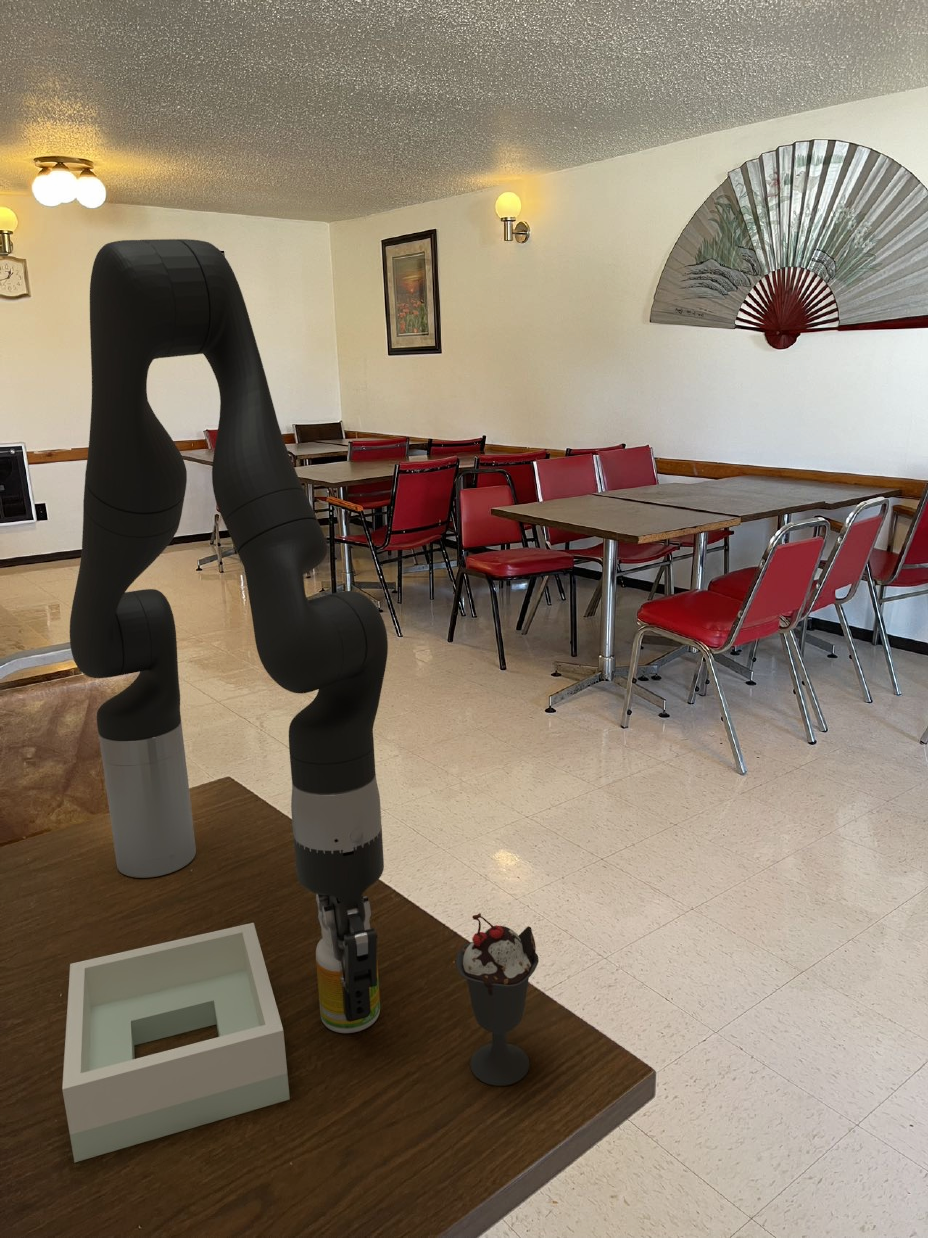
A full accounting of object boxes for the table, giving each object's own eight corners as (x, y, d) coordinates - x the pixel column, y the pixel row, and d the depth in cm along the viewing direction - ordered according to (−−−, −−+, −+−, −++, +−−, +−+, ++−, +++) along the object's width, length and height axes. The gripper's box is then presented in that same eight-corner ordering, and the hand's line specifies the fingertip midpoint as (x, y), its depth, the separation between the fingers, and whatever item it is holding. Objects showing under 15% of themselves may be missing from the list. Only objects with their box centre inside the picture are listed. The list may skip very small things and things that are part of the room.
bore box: (80, 1026, 82) (70, 963, 81) (259, 982, 88) (253, 922, 86) (74, 1162, 68) (62, 1089, 66) (289, 1099, 73) (283, 1030, 71)
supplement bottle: (370, 1038, 80) (363, 940, 77) (312, 1031, 81) (303, 935, 78) (387, 998, 85) (382, 906, 82) (332, 993, 86) (325, 901, 83)
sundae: (448, 1084, 74) (441, 921, 70) (475, 1030, 80) (471, 877, 77) (526, 1104, 72) (523, 936, 68) (548, 1047, 78) (547, 890, 74)
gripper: (279, 799, 83) (293, 961, 88) (311, 875, 70) (325, 1061, 74) (359, 785, 86) (369, 943, 90) (404, 855, 73) (413, 1036, 77)
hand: (349, 995), depth 82 cm, fingers closed on supplement bottle, 5 cm apart
